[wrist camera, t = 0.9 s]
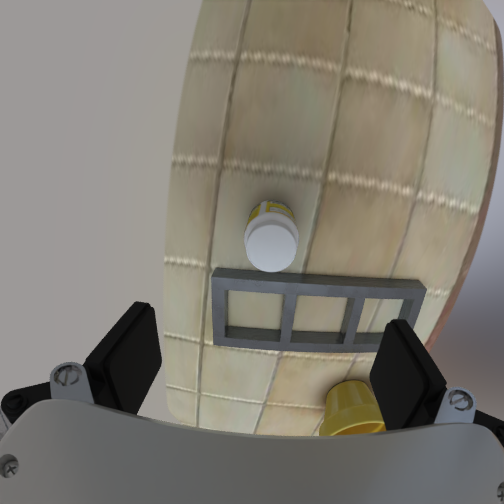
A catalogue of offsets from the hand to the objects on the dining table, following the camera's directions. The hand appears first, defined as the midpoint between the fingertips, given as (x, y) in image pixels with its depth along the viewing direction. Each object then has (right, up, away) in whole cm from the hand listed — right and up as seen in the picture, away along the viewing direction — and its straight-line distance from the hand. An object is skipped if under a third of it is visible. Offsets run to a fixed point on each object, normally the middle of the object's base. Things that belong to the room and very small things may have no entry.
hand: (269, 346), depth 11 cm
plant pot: (+14, -18, +28) cm, 36 cm away
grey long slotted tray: (+7, -3, +23) cm, 24 cm away
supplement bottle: (+1, +7, +20) cm, 21 cm away
